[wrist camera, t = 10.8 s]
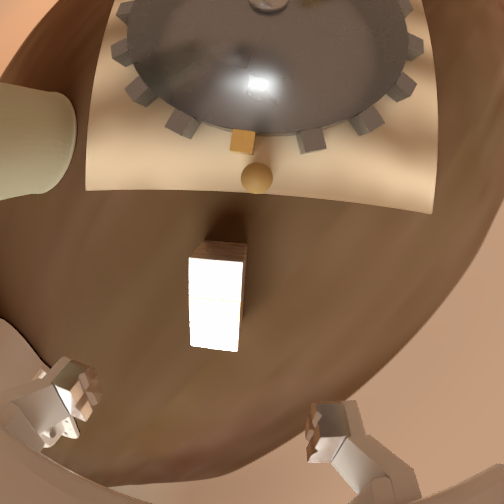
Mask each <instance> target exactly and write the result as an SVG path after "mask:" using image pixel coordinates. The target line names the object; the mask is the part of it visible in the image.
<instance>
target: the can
mask: <svg viewBox="0 0 504 504" xmlns="http://www.w3.org/2000/svg"><path fill="white" fill-rule="evenodd" d="M76 136H77V121H76V115H75V111H74V108H73V106H72V103H71V102H70V100H69V99H68V98H67V97H66V96H65V95H63V94H61V93H59V92H47V91H42V90H37V89H32V88H27V87H23V86H18V85H12V84H7V83H1V82H0V200H4V199H8V198H13V197H17V196H22V195H27V194H42V193H45V192H47V191H49V190H51V189H52V188H53V187H54V186H56V185H57V184H58V182H59V181H60V180H61V179H62V177H63V176H64V174H65V172H66V171H67V169H68V166H69V164H70V162H71V159H72V156H73V153H74V149H75V144H76Z"/></svg>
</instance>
